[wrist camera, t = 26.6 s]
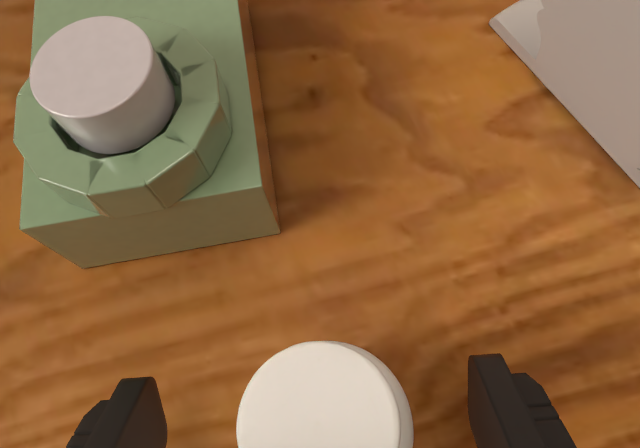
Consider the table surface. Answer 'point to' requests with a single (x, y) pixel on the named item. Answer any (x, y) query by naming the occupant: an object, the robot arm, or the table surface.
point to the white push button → (103, 84)
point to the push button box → (155, 144)
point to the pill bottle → (324, 401)
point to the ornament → (585, 64)
